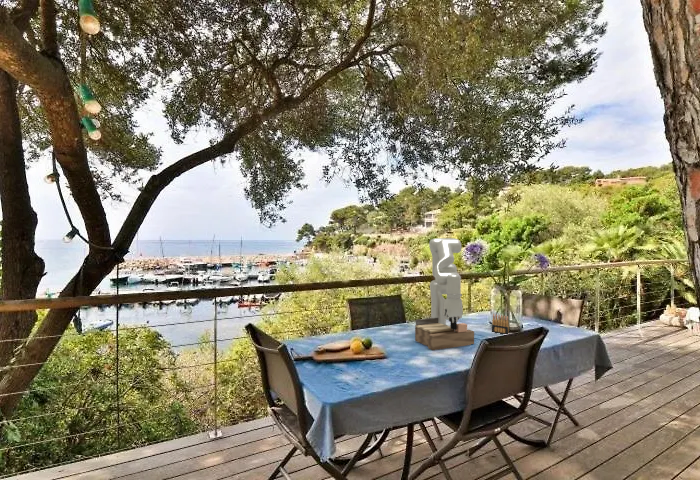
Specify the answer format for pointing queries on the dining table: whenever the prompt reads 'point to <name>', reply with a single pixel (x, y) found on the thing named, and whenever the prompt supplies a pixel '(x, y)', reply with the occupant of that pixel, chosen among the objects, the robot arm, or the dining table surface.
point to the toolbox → (444, 338)
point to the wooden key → (461, 327)
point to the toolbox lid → (431, 325)
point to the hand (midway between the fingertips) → (453, 329)
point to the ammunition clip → (500, 325)
